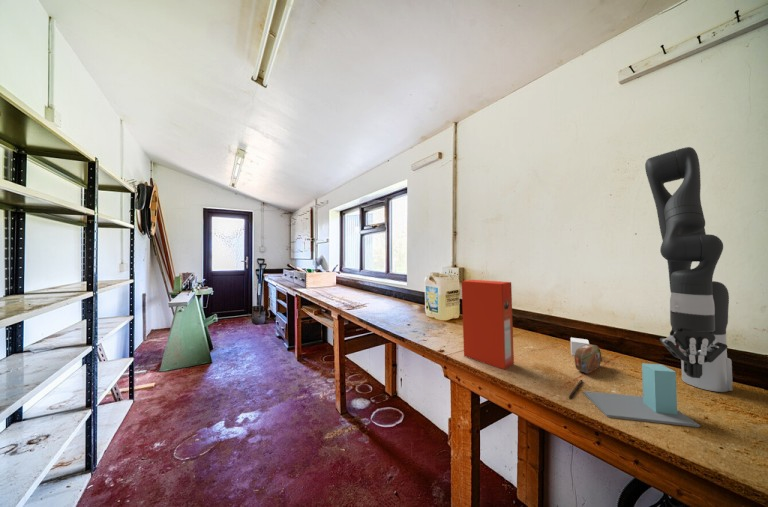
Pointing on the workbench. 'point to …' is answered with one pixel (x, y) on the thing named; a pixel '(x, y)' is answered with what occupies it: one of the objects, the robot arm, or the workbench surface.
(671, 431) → the workbench surface
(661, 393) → the block
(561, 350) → the workbench surface
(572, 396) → the dark brown rod
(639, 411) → the mat
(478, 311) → the file binder
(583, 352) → the tin
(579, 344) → the white cube
